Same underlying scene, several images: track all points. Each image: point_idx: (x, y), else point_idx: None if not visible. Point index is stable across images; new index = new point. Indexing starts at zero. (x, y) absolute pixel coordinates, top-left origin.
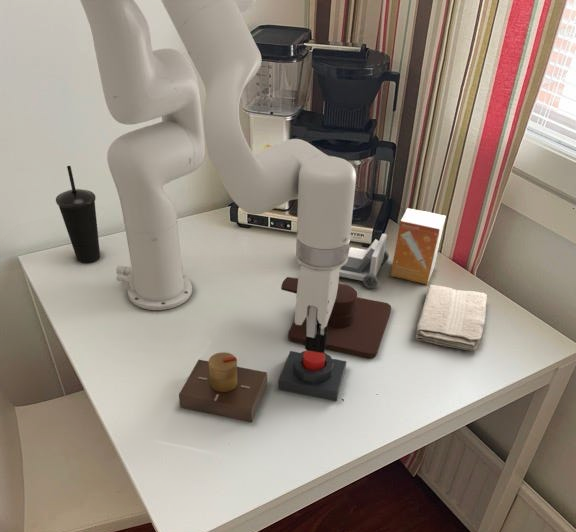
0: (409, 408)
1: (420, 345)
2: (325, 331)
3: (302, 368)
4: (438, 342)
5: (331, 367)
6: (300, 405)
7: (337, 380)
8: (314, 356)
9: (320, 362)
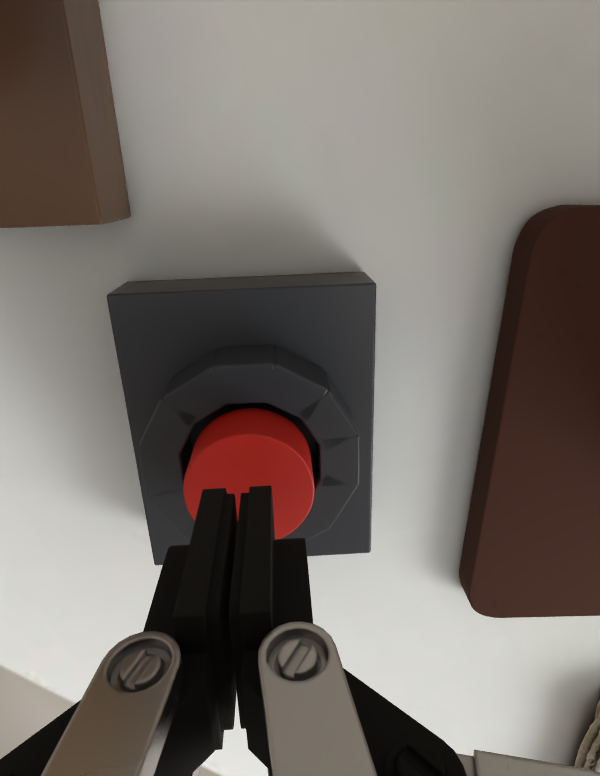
0: None
1: (572, 701)
2: (242, 723)
3: (175, 428)
4: (586, 755)
5: None
6: (77, 407)
7: None
8: None
9: None
